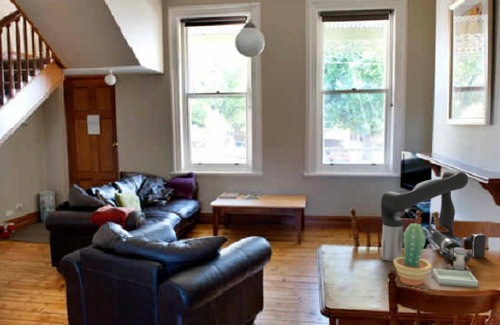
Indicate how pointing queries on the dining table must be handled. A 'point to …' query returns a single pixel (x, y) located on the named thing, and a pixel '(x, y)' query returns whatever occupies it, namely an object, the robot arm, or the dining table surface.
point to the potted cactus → (413, 256)
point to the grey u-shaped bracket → (459, 269)
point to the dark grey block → (478, 245)
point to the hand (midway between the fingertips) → (461, 259)
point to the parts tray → (455, 278)
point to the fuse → (459, 258)
